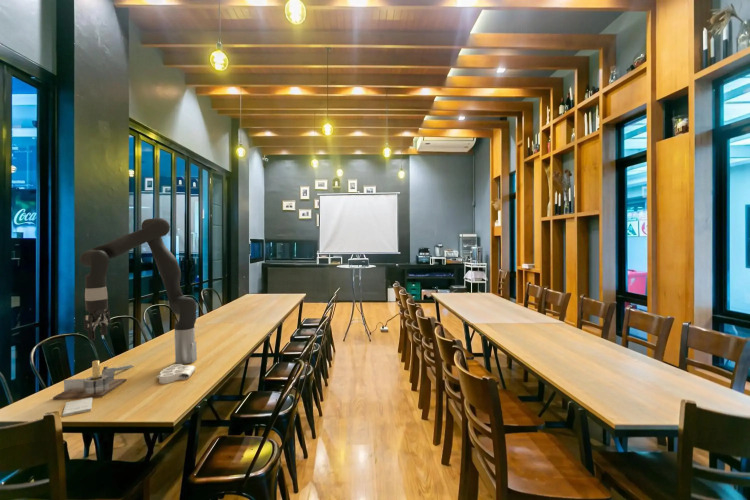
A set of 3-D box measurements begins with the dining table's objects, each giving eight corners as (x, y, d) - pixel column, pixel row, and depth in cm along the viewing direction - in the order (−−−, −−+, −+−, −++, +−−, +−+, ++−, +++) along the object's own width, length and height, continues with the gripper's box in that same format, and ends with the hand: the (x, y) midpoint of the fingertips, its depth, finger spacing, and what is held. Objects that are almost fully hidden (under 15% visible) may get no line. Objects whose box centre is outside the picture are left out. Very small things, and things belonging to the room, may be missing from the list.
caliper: (104, 381, 170) (103, 367, 170) (101, 381, 170) (101, 367, 170) (133, 366, 191) (133, 354, 191) (131, 366, 191) (131, 354, 191)
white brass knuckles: (187, 382, 168) (150, 385, 165) (197, 369, 186) (164, 372, 183) (187, 374, 168) (150, 377, 165) (197, 362, 186) (164, 365, 183)
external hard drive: (92, 401, 150) (91, 412, 140) (65, 406, 145) (62, 418, 135) (92, 397, 150) (91, 407, 140) (65, 402, 145) (62, 413, 135)
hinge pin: (101, 389, 158) (100, 360, 158) (97, 391, 156) (97, 361, 156) (95, 389, 158) (94, 360, 158) (91, 391, 156) (90, 362, 155)
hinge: (122, 379, 169) (122, 368, 169) (101, 393, 153) (100, 381, 153) (83, 381, 168) (83, 370, 167) (57, 395, 152) (57, 383, 152)
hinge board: (126, 380, 170) (126, 378, 170) (102, 396, 153) (102, 394, 153) (82, 383, 168) (82, 380, 168) (53, 399, 151) (53, 397, 151)
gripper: (95, 300, 152) (97, 341, 152) (115, 295, 166) (117, 332, 166) (75, 301, 151) (77, 342, 151) (97, 296, 165) (98, 333, 166)
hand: (98, 337), depth 159 cm, fingers open, 8 cm apart
